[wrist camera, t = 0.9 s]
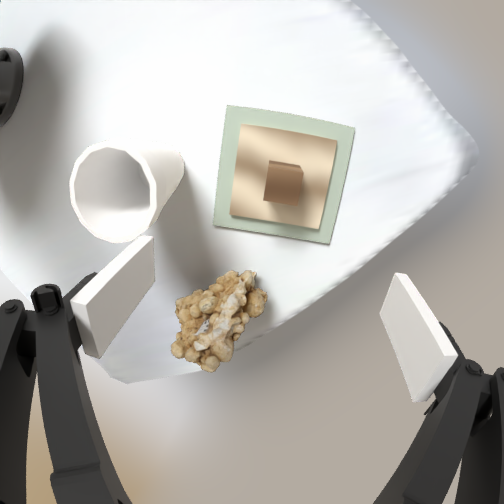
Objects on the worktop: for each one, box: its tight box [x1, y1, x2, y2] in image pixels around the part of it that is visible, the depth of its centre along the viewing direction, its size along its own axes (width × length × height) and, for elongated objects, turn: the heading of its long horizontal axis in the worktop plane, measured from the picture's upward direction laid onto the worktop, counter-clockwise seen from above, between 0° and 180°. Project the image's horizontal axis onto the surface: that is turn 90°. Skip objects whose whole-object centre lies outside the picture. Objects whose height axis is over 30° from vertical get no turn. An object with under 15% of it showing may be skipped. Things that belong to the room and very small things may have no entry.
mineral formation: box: [171, 270, 268, 372], centre depth 35 cm, size 8×13×15 cm, turn 134°
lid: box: [229, 124, 337, 229], centre depth 31 cm, size 11×11×6 cm
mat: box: [213, 105, 355, 244], centre depth 34 cm, size 15×15×1 cm
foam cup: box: [69, 137, 184, 243], centre depth 29 cm, size 10×9×13 cm
